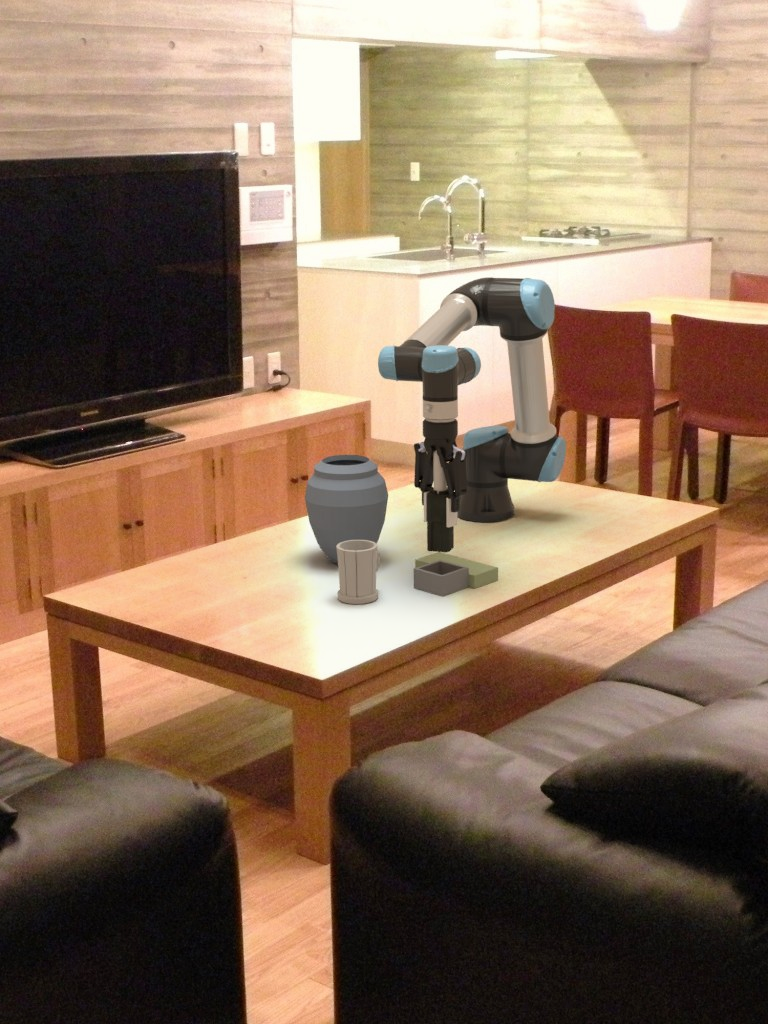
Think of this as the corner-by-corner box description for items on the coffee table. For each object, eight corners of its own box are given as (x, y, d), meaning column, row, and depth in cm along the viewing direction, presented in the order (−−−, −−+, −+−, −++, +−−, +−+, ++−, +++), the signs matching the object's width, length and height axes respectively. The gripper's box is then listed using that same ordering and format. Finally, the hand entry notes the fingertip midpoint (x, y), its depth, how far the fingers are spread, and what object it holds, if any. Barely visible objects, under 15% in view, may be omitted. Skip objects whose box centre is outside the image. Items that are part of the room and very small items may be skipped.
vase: (289, 562, 326) (285, 461, 319) (347, 543, 339) (345, 447, 333) (348, 578, 313) (346, 474, 306) (406, 558, 326) (405, 458, 320)
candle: (454, 546, 304) (454, 435, 298) (448, 552, 300) (448, 439, 293) (432, 544, 306) (432, 434, 299) (425, 550, 301) (425, 438, 295)
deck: (388, 580, 311) (388, 561, 309) (438, 564, 322) (438, 545, 321) (448, 598, 298) (448, 578, 297) (498, 580, 310) (498, 561, 308)
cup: (339, 589, 305) (338, 537, 302) (380, 589, 305) (379, 537, 302) (336, 605, 295) (334, 551, 292) (378, 604, 295) (377, 551, 292)
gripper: (396, 415, 299) (397, 519, 305) (461, 427, 286) (461, 534, 292) (419, 411, 304) (420, 512, 310) (485, 421, 291) (484, 527, 297)
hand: (440, 523), depth 301 cm, fingers closed on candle, 6 cm apart
